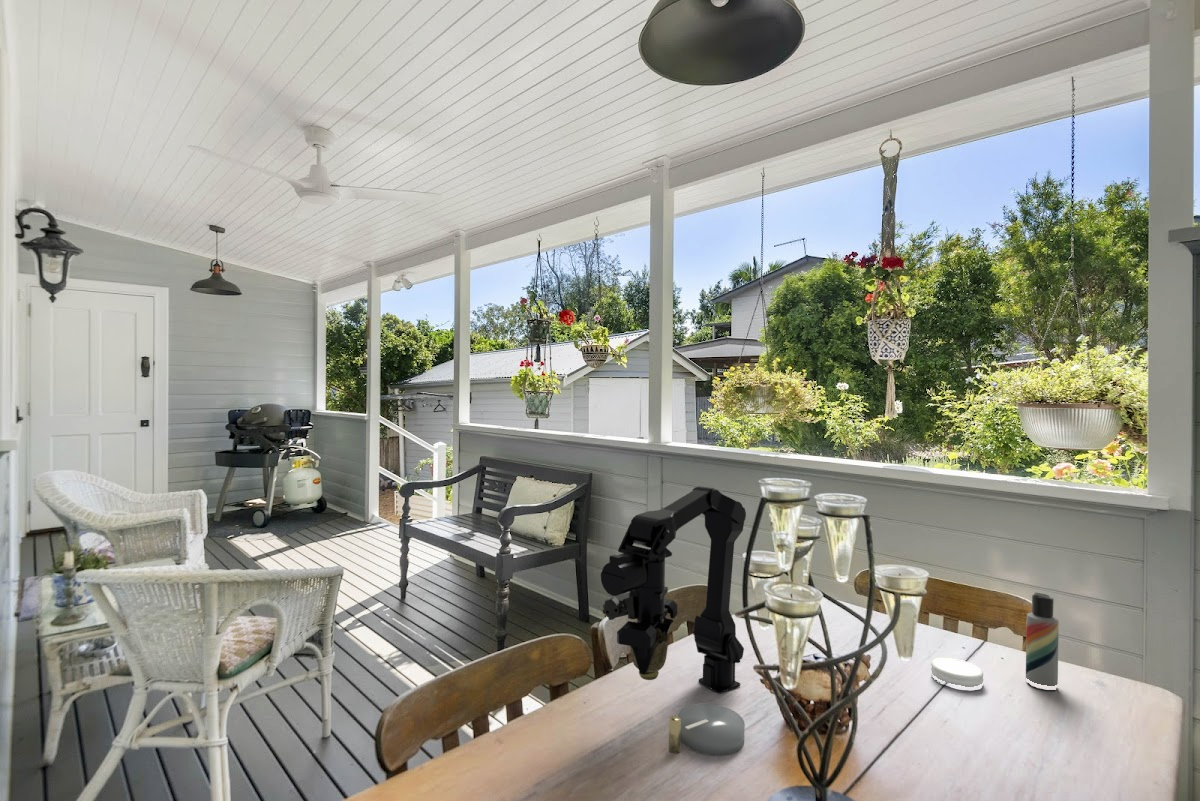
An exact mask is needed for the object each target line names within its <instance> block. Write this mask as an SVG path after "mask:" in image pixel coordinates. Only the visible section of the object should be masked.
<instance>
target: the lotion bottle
mask: <svg viewBox="0 0 1200 801" xmlns="http://www.w3.org/2000/svg"><path fill="white" fill-rule="evenodd" d="M1031 600H1032V601H1031V606H1032V607H1031V612H1028V613H1027V614H1026V623H1025V624H1026V628H1025V629H1026V632H1025V635H1026V636H1025V638H1026V639H1025V679H1026V678H1027V679H1029V680H1030V681H1032V682H1034V683H1037V684H1041V685H1047V686H1055V685H1057V684H1058V683H1059V634H1060V633H1059V631H1060V630H1059V629H1060V627H1059V625H1060V623H1059V622H1060V621H1059V618H1057V617H1055V616H1054V603H1055V602H1054V598H1053V597H1052V596H1051V595H1049V594H1045V593H1040V592H1034V593H1033V594H1032V595H1031ZM1058 685H1059V684H1058Z"/></svg>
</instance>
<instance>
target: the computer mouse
mask: <svg viewBox="0 0 1200 801" xmlns="http://www.w3.org/2000/svg"><path fill="white" fill-rule="evenodd" d="M676 716H678V717H680V718H681V734H680V744H682V745H684V746H685V747H686V748H688V750H689V749H690V750H691V751H693V752H695V753H699V754H702V755H706V756H714V757H716V756H717V757H718V756H719V757H720V756H723V757H724V756H727V755H733V754H735V753H737V752H738V751H740V750H741V749H742V748H743V747H744V745H745V730H746V729H745V728H746V724H745V721H744V719H743V717H742V716H741V715H740V713H738V712H736V711H735V710H733V709H731V708H729V707H727V706H723V705H719V704H714V703H708V702H707V703H705V702H703V703H702V702H701V703H692V704H689V705H686V706H684V707H682V708H681V709H680V710H679V711H678V712H677V715H676Z"/></svg>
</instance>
